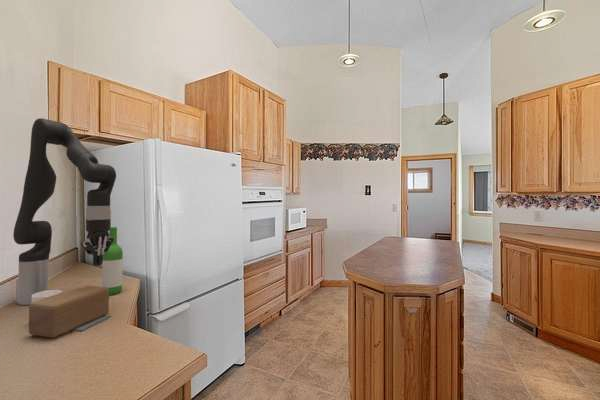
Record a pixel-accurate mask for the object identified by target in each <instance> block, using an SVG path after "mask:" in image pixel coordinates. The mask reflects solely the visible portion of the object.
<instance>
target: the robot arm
mask: <svg viewBox="0 0 600 400" xmlns="http://www.w3.org/2000/svg"><path fill="white" fill-rule="evenodd" d="M47 144H49V145H54V146H62V147H65V149H66V151H65V152H66V154H65V155H66V157H67V158H68V159H67V160H69V161H70V162H71V163H72V164H73V165H74V166H76V168H77V170H78V172H79V173H80V176H81V178H82V179H83V180H84V181H86V182H88V183H94V184H95V183H96V184H99V185H98V187H97V188H95V189H90V190H89V191H88V192H87V193H86V195H87V196H86V199H87V200H86V210H85V231H86V232H87V235H86V239H85V240H84V241H81V242H80V245H81V247H82V248H83V249H84V251H85V252H86V254H88V255H90V256H91V255H92V264H93V266H98V267H99V266H102V262H103V254H104V253H105V252H107V251H108V250H109V248H110V246H111V244H112V242H113V241H114V238H110V237H109V230H110V229H111V227H112V225H111V223H112V222H111V221H112V210H111V194H112V192H113V188H114V185H115V182H116V179H117V172H116V170H115V168H114V167H113V166H112V165H109V164H101V163H99V160H98V159H97V157H96V156H95V155H94V154H93V153H92V152H90V151H89V149H87V148H86V147H85V146H84V144H82V142H81V141H80V140H79V138H78V137H77V136H76V134H75V133H74V131H73V130H72V129H71V128H70V126H68V125H67V124H66V123H64V122H59V121H55V120H51V119H47V118H43V117H41V118H37V119H36V120H35V121H34V122H33V124H32V128H31V135H30V148H29V149H30V150H29V159H28V165H27V170H26V173H25V174H26V175H25V178H24V185H23V192H22V198H21V202H20V208H19V211H18V214H17V217H16V221H15V224H14V227H13V228H14V229H13V233H12V234H13V236H12V237H13V241H14V242H15V243H16V244H17V245H22V246H23V245H30V244H31V245H32V244H33V247H31V248H30V249H29V250H26V251H24V252H22V253H19V255H18V278H17V279H16V283H15V284H16V287H15V288H16V289H15V290H16V291H15V304H18V305H20V306H29V305H30V304H31V303H32V298H31V296H32V295H33V294H35V293H38V292H43V291H49V288H50V287H49V284H50V283H49V280H50V279H49V277H50V274H49V271H50V269H49V268H50V254H51V249H52V248H51V247H52V234H53V230H52V225H51V224H50V222H49V221H47V220H34V218H35V215H36V213H37V212H38V210H39V209H40V208H41V207H42V206H43V205H44V204H45V203H46V202H47V201H48V200H50V198H51V197H53V195H54V193H55V189H56V182H57V174H56V172H55V170H54V168H53V166H52V165H51V163H50V161H49V158H48V156H47Z"/></svg>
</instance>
